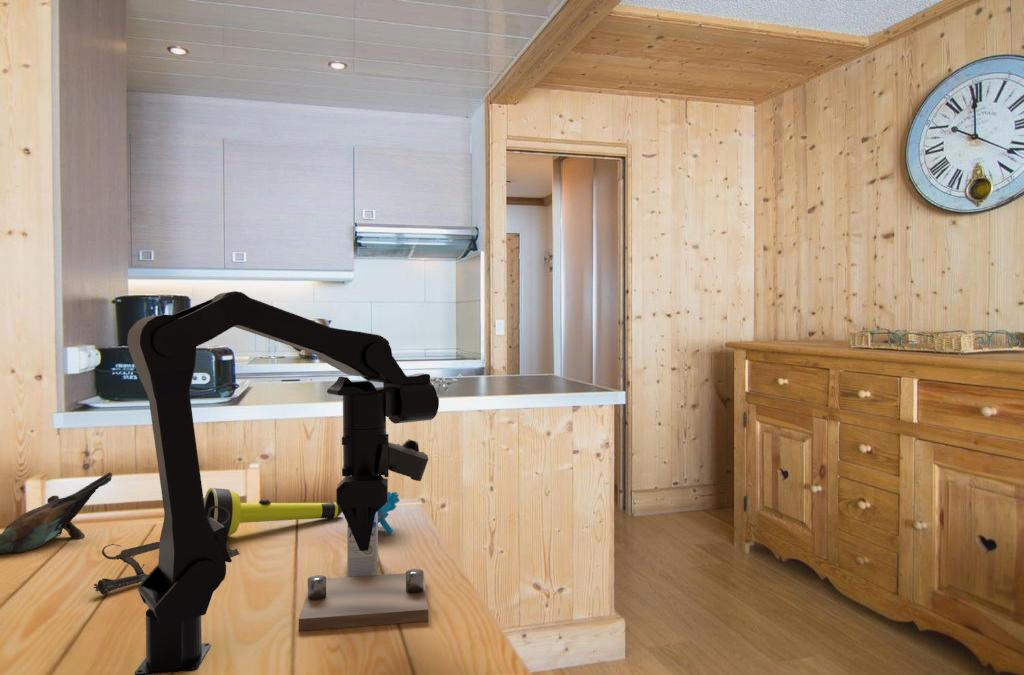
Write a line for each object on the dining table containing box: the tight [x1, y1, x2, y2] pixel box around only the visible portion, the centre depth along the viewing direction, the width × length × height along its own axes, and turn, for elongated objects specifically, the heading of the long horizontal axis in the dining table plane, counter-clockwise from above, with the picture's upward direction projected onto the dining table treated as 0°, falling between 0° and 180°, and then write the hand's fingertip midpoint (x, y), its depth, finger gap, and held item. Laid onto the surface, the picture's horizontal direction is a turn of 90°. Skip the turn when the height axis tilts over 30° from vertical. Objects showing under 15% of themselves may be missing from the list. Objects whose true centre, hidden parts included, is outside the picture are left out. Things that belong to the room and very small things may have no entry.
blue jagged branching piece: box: [378, 491, 400, 535], centre depth 126 cm, size 11×6×10 cm
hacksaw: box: [93, 506, 240, 595], centre depth 109 cm, size 24×3×10 cm
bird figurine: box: [0, 472, 113, 554], centre depth 123 cm, size 13×10×20 cm
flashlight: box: [203, 487, 343, 538], centre depth 130 cm, size 25×9×9 cm, turn 126°
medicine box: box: [346, 511, 379, 577], centre depth 108 cm, size 8×4×9 cm, turn 10°
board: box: [298, 568, 429, 632], centre depth 95 cm, size 14×16×4 cm
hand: (365, 541), depth 95 cm, fingers open, 8 cm apart
